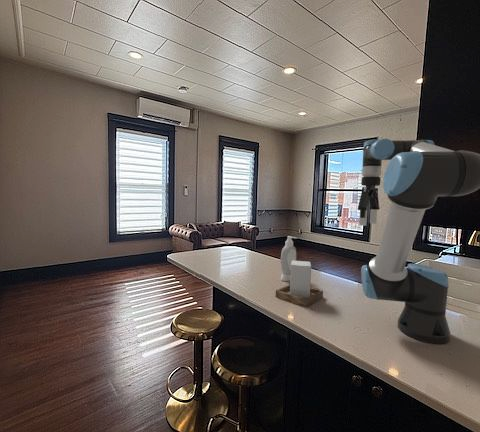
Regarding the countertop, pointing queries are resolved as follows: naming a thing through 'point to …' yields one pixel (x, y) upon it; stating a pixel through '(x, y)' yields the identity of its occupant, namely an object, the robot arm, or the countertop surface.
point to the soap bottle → (287, 259)
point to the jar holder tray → (285, 293)
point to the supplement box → (300, 279)
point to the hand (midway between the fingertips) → (368, 224)
